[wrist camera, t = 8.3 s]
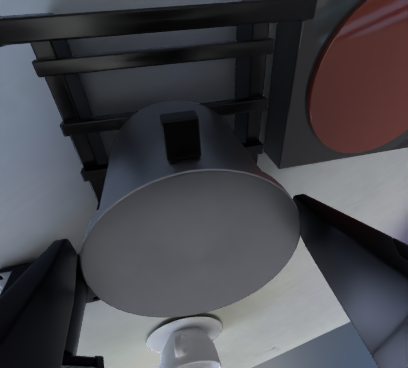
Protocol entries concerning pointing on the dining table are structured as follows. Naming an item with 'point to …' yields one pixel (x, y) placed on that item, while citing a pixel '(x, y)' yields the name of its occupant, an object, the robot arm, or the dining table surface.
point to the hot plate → (363, 79)
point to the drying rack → (151, 62)
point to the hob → (304, 89)
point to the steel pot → (185, 217)
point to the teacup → (187, 343)
